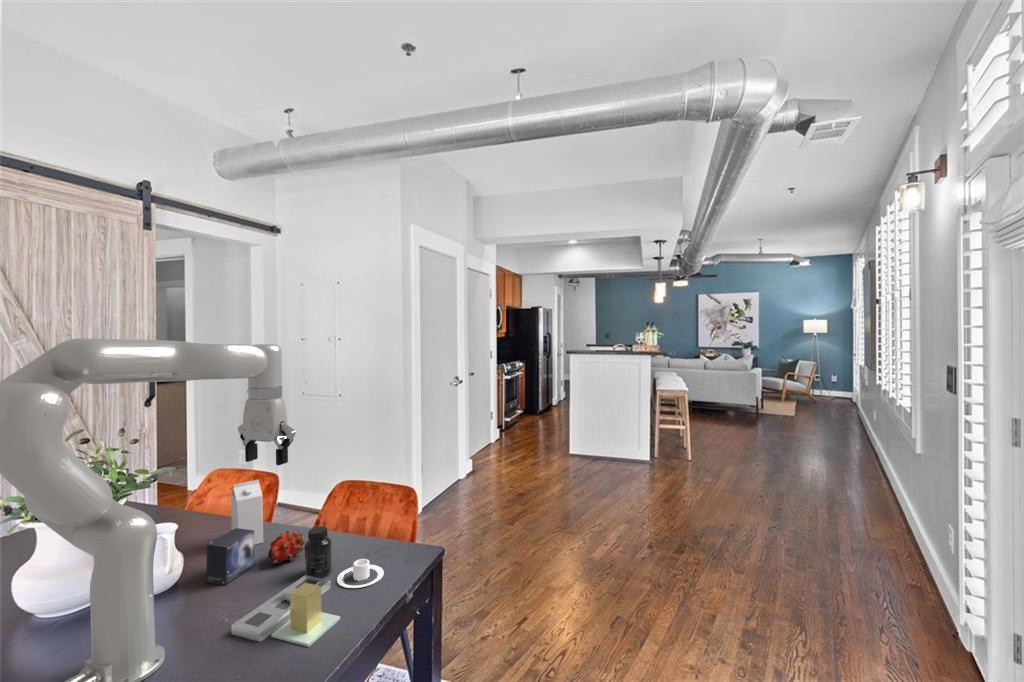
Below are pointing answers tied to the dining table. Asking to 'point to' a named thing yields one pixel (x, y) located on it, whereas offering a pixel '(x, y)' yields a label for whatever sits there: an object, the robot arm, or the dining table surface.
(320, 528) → the supplement bottle
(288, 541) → the dragon fruit
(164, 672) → the dining table surface
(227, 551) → the small box
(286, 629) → the pad
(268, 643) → the dining table surface
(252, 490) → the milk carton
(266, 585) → the dining table surface
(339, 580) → the candle holder
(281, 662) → the dining table surface
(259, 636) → the rail
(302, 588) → the yellow block
